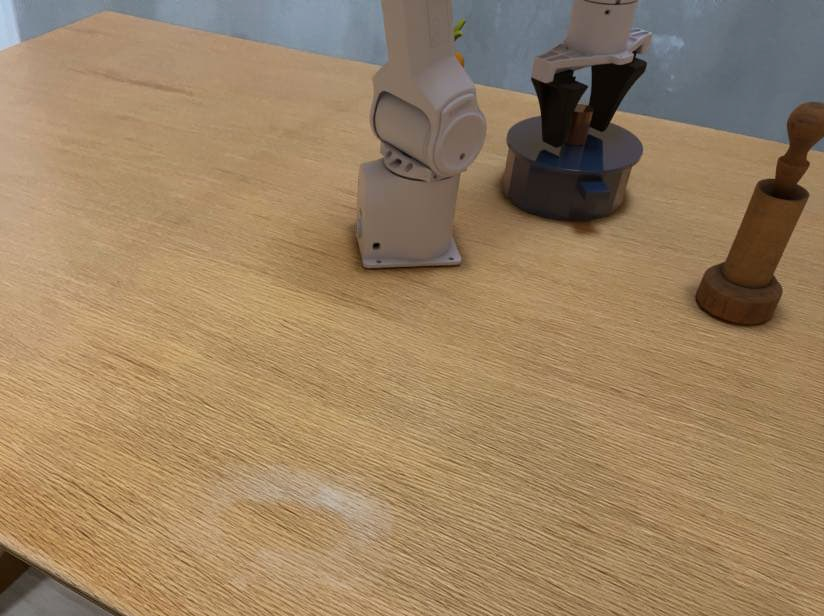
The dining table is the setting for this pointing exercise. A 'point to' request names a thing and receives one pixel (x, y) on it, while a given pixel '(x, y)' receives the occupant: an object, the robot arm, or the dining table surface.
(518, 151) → the lid
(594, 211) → the pot
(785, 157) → the mortar and pestle
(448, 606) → the dining table surface
